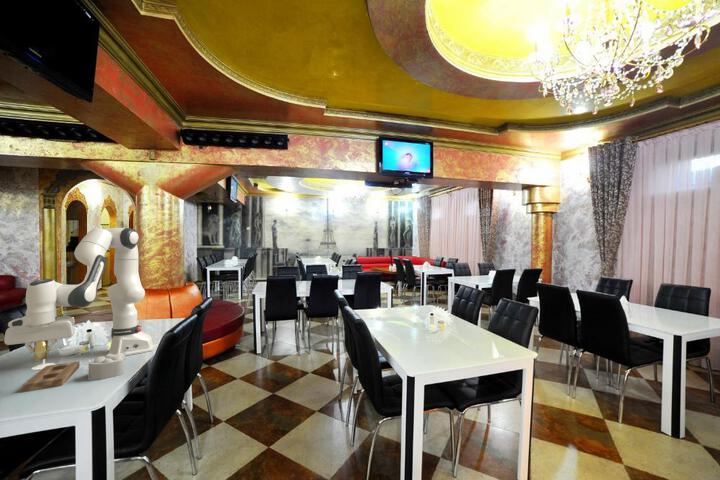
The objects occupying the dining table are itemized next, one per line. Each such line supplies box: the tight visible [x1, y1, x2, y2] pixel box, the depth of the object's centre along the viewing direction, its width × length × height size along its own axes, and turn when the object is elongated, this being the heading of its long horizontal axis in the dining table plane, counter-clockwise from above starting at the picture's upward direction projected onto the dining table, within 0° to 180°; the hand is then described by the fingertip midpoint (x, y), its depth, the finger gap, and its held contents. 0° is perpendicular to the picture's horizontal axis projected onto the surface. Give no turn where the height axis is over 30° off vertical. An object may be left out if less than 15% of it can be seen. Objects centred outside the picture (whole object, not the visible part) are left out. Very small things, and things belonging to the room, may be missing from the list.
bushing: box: [33, 340, 49, 361], centre depth 124 cm, size 4×4×8 cm
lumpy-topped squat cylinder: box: [87, 353, 126, 381], centre depth 139 cm, size 10×13×9 cm
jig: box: [22, 360, 81, 393], centre depth 134 cm, size 12×22×3 cm, turn 29°
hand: (41, 351), depth 124 cm, fingers closed on bushing, 4 cm apart
